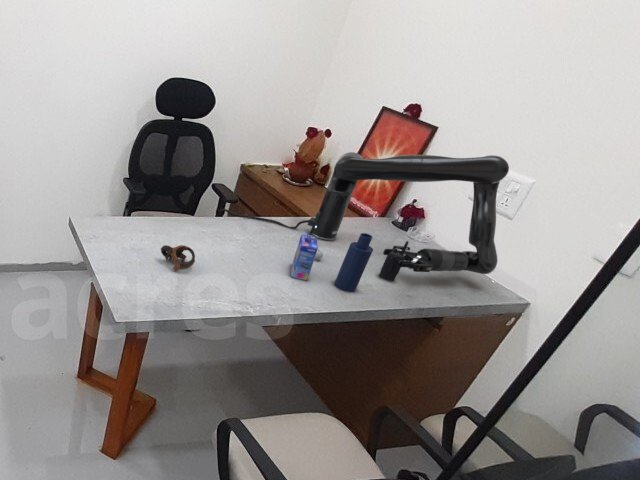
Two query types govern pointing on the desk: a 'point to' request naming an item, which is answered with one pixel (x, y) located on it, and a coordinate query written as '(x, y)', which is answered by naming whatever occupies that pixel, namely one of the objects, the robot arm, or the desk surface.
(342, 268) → the bottle
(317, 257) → the smooth white sculpture
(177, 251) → the brown curled piece
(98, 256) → the desk surface
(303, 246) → the ink cartridge box
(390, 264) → the two-way radio
